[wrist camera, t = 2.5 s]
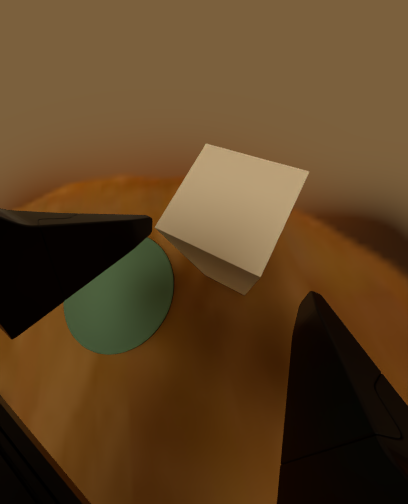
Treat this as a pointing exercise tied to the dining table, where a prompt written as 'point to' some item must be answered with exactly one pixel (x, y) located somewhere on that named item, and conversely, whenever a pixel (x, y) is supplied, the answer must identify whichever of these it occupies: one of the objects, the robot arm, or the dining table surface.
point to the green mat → (123, 302)
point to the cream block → (231, 214)
